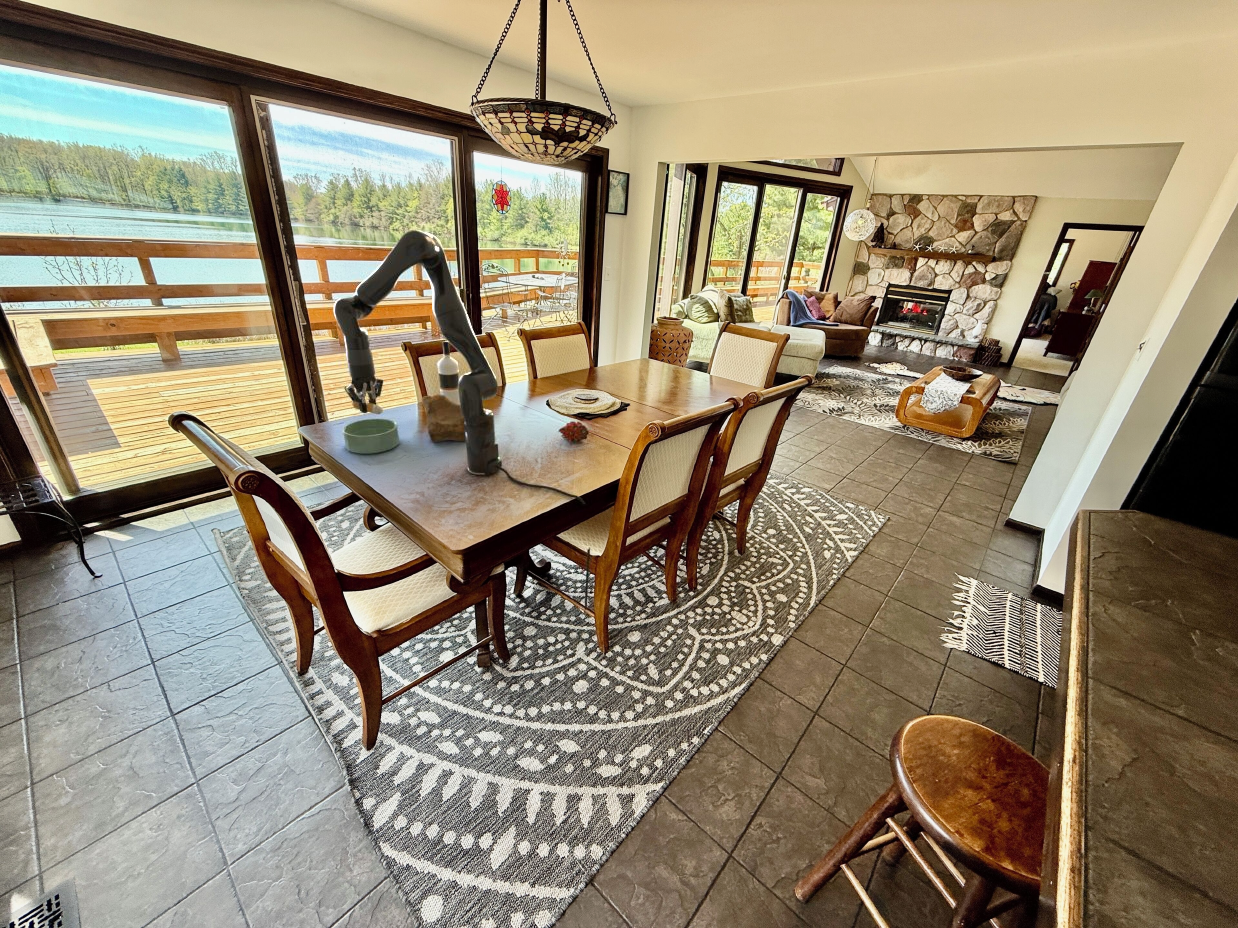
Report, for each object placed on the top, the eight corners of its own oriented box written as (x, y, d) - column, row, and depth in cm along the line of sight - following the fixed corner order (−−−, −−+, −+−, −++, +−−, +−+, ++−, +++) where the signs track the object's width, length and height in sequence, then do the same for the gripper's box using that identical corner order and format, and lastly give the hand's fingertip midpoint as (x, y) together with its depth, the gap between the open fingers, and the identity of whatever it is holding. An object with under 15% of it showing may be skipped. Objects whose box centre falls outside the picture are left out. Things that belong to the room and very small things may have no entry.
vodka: (446, 415, 203) (439, 344, 190) (437, 409, 209) (429, 340, 196) (466, 411, 209) (461, 342, 196) (457, 405, 215) (451, 338, 202)
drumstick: (387, 413, 164) (385, 400, 162) (376, 416, 160) (373, 403, 158) (361, 406, 169) (359, 393, 167) (350, 409, 165) (347, 396, 163)
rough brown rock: (407, 443, 178) (401, 406, 170) (432, 424, 192) (428, 389, 184) (464, 454, 174) (460, 417, 166) (486, 434, 188) (483, 399, 180)
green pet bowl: (410, 442, 177) (407, 424, 174) (370, 459, 162) (366, 440, 159) (376, 432, 183) (373, 415, 180) (335, 447, 169) (331, 429, 165)
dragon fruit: (589, 447, 186) (560, 447, 189) (592, 429, 190) (563, 429, 193) (584, 435, 179) (554, 436, 182) (587, 416, 183) (557, 417, 186)
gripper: (349, 367, 150) (358, 419, 157) (386, 359, 162) (393, 407, 169) (332, 363, 153) (342, 414, 160) (370, 355, 164) (378, 403, 172)
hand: (368, 411), depth 165 cm, fingers closed on drumstick, 3 cm apart
